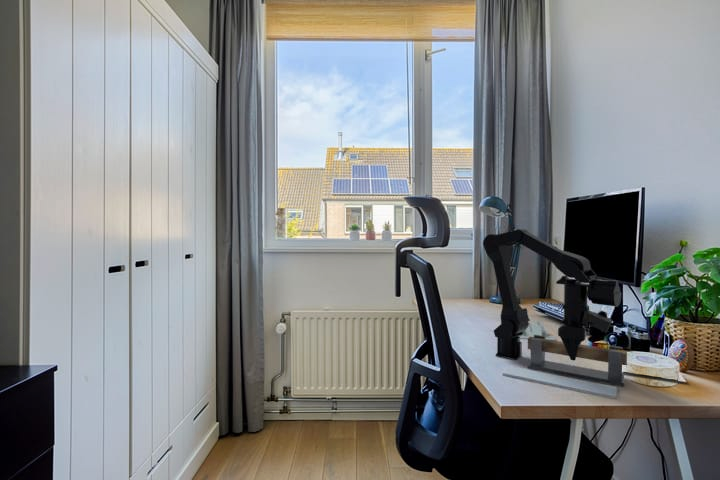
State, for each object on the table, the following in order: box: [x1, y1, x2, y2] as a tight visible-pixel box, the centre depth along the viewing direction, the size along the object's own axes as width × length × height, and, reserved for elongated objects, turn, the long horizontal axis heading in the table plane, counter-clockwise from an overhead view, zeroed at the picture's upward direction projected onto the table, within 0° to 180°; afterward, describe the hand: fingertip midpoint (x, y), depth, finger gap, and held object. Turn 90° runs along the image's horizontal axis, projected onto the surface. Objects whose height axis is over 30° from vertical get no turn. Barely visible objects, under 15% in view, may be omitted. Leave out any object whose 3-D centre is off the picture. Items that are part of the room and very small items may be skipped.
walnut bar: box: [527, 337, 628, 366], centre depth 107 cm, size 24×3×3 cm, turn 55°
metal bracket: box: [519, 320, 557, 341], centre depth 147 cm, size 14×6×15 cm
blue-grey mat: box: [502, 365, 618, 400], centre depth 101 cm, size 26×7×1 cm, turn 55°
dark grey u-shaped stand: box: [527, 335, 625, 387], centre depth 107 cm, size 23×7×8 cm, turn 55°
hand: (574, 356), depth 107 cm, fingers open, 7 cm apart
